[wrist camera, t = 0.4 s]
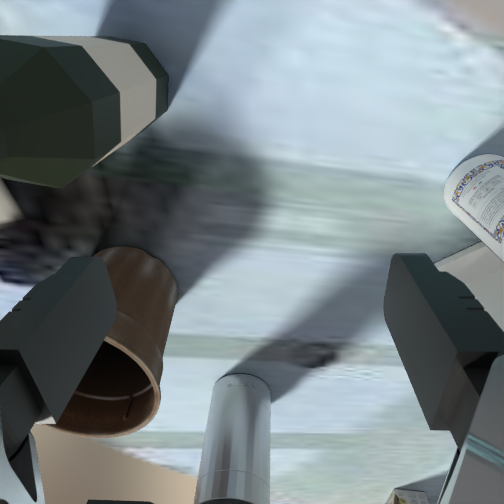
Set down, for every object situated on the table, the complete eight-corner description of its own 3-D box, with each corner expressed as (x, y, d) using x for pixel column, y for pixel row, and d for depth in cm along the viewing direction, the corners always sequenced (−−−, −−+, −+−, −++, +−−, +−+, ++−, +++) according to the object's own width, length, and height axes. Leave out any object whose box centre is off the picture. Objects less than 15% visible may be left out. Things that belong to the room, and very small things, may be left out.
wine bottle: (152, 24, 32) (-374, -40, 6) (182, 120, 36) (-49, 330, 10) (68, 48, 33) (-660, 84, 7) (107, 138, 37) (-269, 365, 11)
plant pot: (111, 341, 52) (54, 450, 39) (43, 252, 45) (-60, 348, 31) (212, 315, 49) (188, 424, 35) (156, 213, 41) (97, 301, 27)
